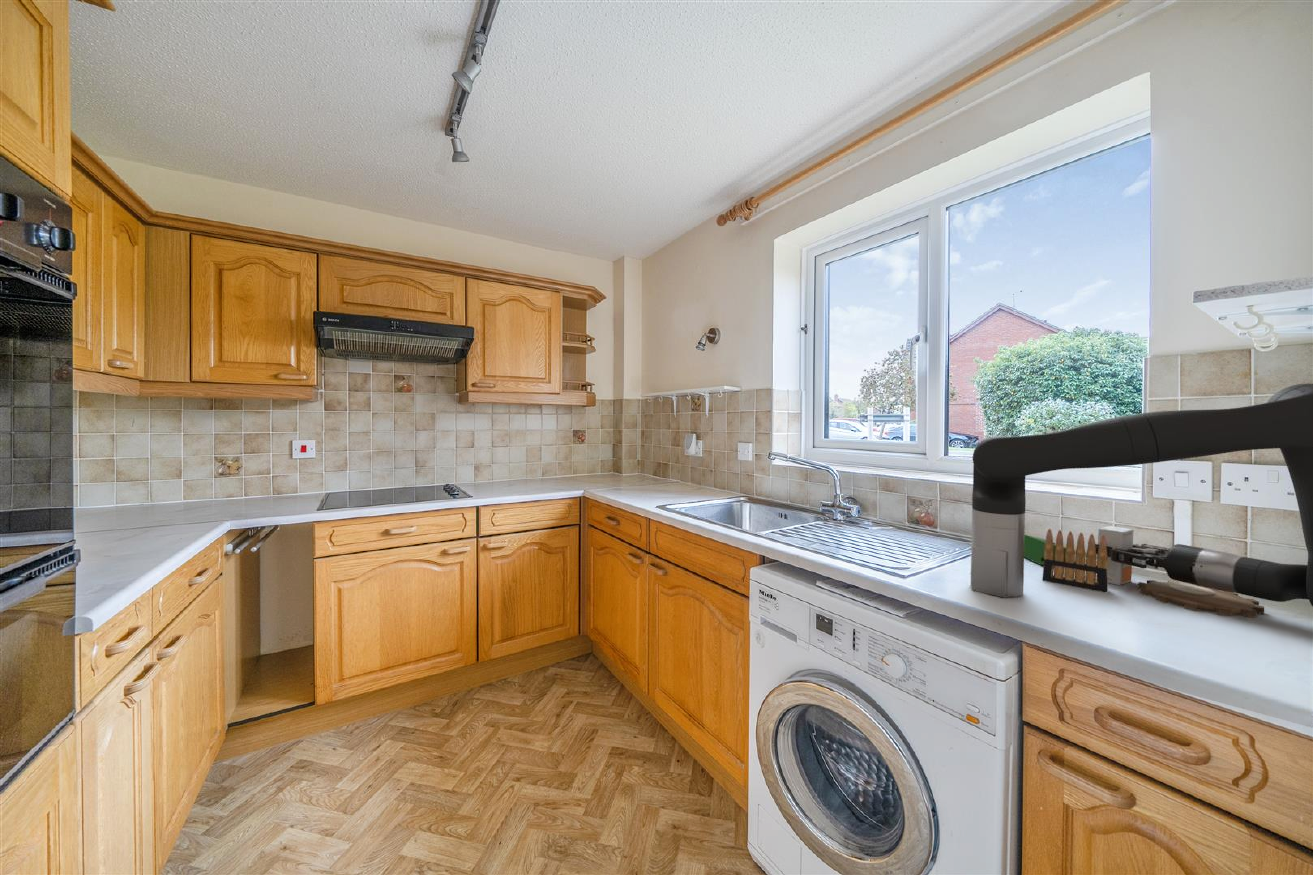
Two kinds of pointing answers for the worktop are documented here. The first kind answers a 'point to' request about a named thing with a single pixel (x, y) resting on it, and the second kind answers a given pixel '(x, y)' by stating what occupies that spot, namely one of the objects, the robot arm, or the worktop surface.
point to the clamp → (1035, 549)
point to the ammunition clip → (1076, 562)
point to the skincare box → (1124, 540)
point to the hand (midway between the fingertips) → (1102, 546)
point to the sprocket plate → (1201, 598)
